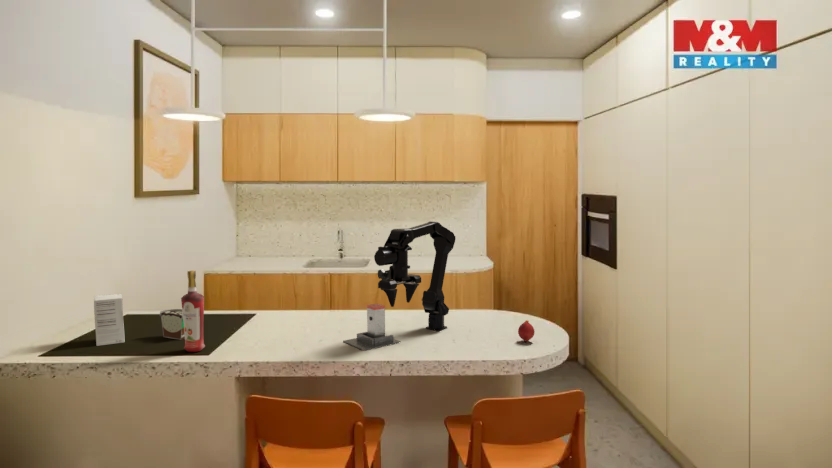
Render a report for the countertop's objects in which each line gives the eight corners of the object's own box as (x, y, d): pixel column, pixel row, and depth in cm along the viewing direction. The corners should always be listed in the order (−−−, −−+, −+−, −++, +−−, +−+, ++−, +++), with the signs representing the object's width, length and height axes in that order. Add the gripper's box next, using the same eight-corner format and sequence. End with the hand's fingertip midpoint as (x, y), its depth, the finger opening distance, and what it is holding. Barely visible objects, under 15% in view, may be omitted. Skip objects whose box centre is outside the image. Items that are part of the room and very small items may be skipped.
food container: (196, 336, 210) (195, 310, 209) (184, 340, 204) (182, 313, 203) (173, 332, 215) (172, 307, 214) (160, 336, 209) (159, 310, 208)
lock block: (377, 337, 205) (377, 303, 203) (385, 340, 201) (384, 305, 199) (366, 339, 202) (366, 305, 200) (374, 342, 198) (373, 307, 197)
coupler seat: (379, 334, 210) (379, 327, 210) (400, 342, 199) (400, 335, 199) (343, 341, 201) (342, 334, 200) (363, 350, 190) (363, 343, 189)
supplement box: (96, 339, 205) (93, 295, 204) (123, 336, 210) (121, 293, 208) (96, 346, 197) (93, 300, 195) (125, 342, 201) (122, 297, 200)
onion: (524, 344, 196) (525, 322, 195) (514, 340, 201) (515, 319, 200) (537, 342, 199) (537, 320, 198) (527, 338, 204) (527, 317, 203)
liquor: (179, 353, 188) (175, 272, 185) (189, 347, 195) (186, 269, 192) (200, 353, 187) (197, 272, 185) (209, 347, 195) (206, 269, 192)
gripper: (399, 258, 214) (399, 297, 216) (366, 264, 200) (367, 306, 201) (422, 260, 207) (422, 301, 209) (389, 266, 193) (390, 310, 194)
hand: (400, 304), depth 203 cm, fingers open, 9 cm apart
